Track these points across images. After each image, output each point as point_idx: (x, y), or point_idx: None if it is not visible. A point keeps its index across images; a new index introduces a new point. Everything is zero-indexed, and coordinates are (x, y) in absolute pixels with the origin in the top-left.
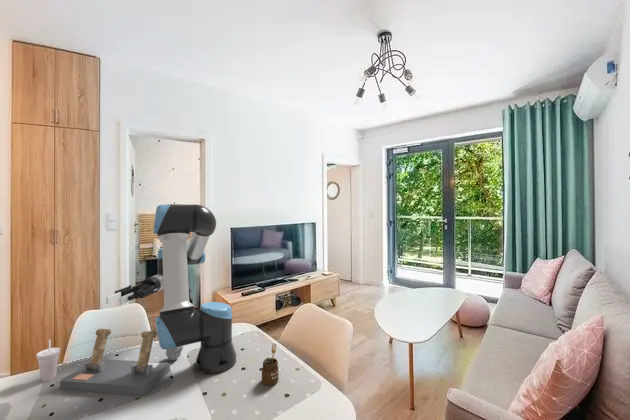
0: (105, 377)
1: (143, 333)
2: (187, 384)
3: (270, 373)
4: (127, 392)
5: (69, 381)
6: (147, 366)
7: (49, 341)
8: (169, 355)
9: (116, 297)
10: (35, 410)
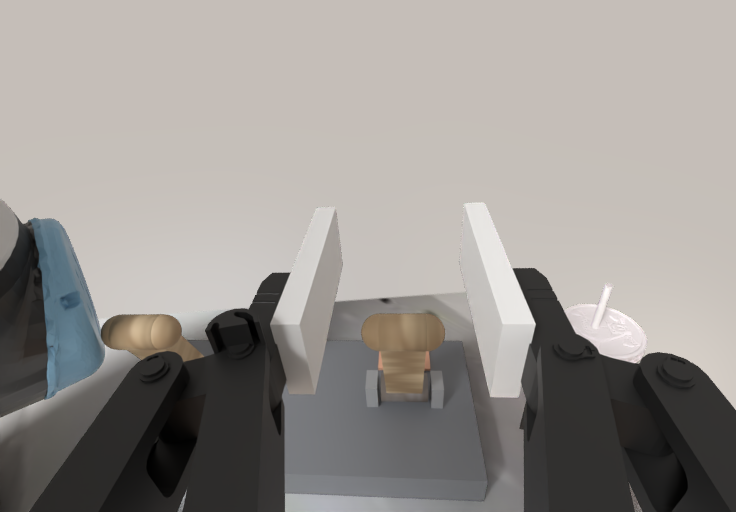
0: (328, 364)
1: (164, 315)
2: (62, 411)
3: None
4: None
5: None
6: None
7: (604, 288)
8: None
9: (479, 305)
10: (432, 302)
